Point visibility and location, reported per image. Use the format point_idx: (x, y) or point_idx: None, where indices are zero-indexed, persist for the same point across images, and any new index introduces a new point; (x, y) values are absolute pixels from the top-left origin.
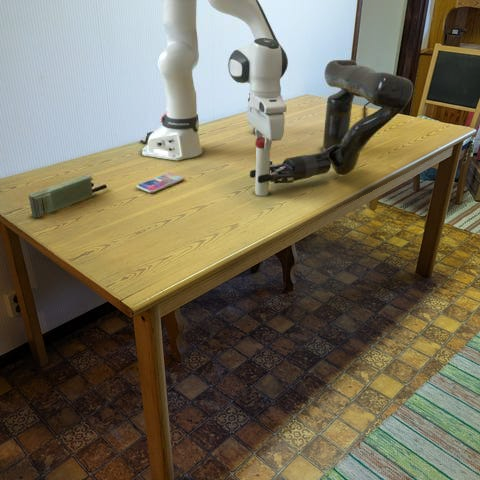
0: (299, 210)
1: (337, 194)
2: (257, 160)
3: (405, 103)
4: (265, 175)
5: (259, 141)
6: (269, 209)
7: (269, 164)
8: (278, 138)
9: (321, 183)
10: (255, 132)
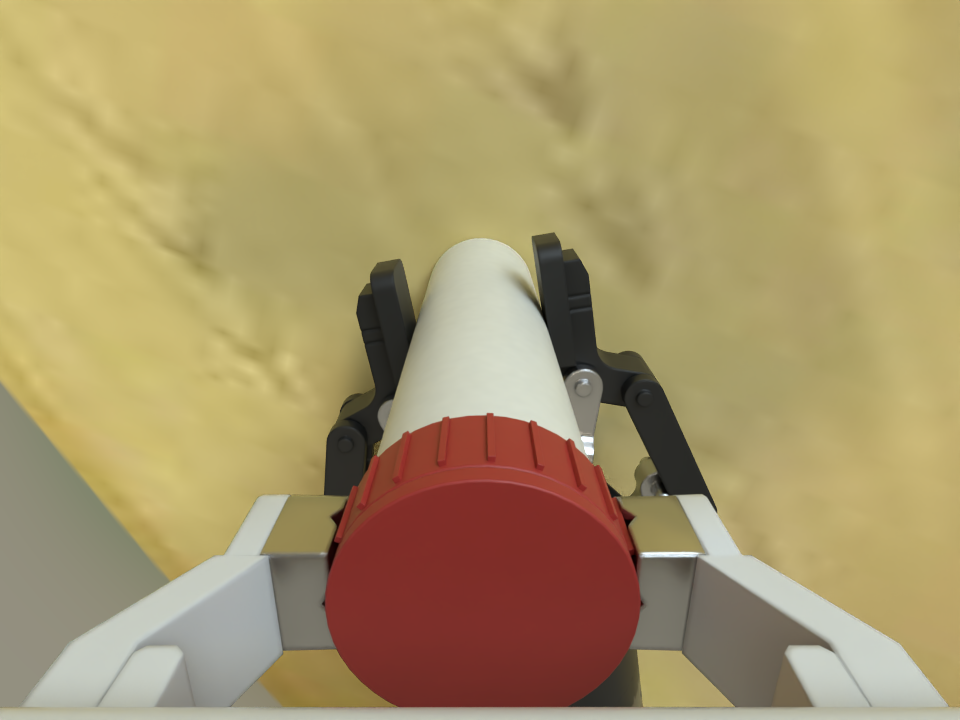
0: (143, 425)
1: (330, 694)
2: (453, 338)
3: None
4: (388, 350)
5: (397, 514)
6: (186, 239)
7: (665, 487)
8: None
9: None
10: (831, 617)
